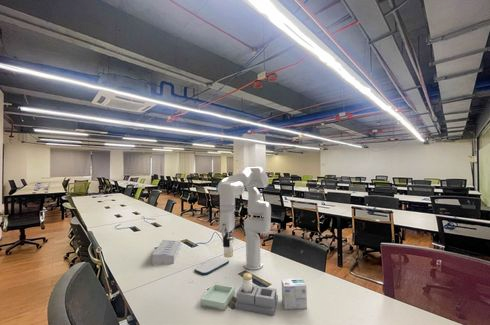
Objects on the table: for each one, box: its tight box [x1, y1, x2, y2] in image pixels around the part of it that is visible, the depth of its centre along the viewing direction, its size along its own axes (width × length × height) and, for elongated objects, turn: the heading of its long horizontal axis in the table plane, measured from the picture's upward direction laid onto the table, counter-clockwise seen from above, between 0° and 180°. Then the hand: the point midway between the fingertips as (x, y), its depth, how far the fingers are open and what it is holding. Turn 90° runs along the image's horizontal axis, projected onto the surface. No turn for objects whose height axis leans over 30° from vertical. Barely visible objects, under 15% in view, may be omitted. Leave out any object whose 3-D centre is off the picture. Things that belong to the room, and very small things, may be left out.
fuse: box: [242, 272, 253, 294], centre depth 104 cm, size 4×4×11 cm
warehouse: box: [151, 239, 182, 266], centre depth 162 cm, size 30×14×8 cm, turn 7°
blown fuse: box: [223, 232, 234, 259], centre depth 106 cm, size 4×4×11 cm
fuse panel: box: [234, 283, 279, 316], centre depth 102 cm, size 12×18×6 cm, turn 73°
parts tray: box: [200, 283, 236, 312], centre depth 106 cm, size 14×12×4 cm
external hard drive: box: [194, 256, 229, 276], centre depth 142 cm, size 24×12×2 cm, turn 143°
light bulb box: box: [280, 277, 308, 310], centre depth 101 cm, size 11×7×11 cm, turn 92°
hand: (228, 244), depth 106 cm, fingers closed on blown fuse, 4 cm apart
